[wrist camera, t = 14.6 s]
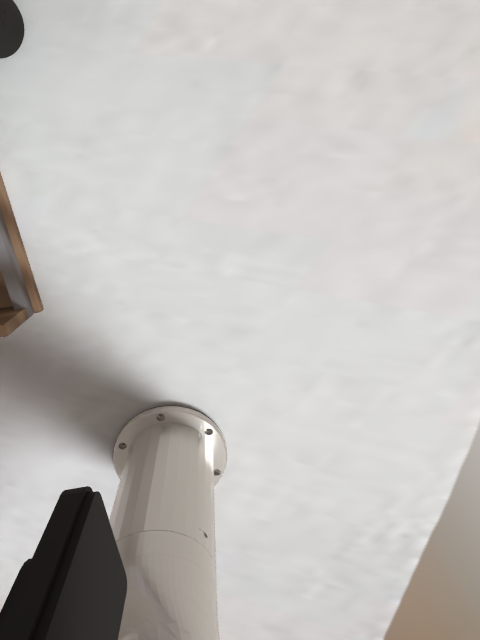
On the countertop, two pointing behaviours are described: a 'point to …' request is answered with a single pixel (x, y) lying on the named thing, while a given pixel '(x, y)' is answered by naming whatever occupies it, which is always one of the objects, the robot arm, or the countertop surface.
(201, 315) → the countertop surface
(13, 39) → the drinking cup
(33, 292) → the door track
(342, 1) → the countertop surface
